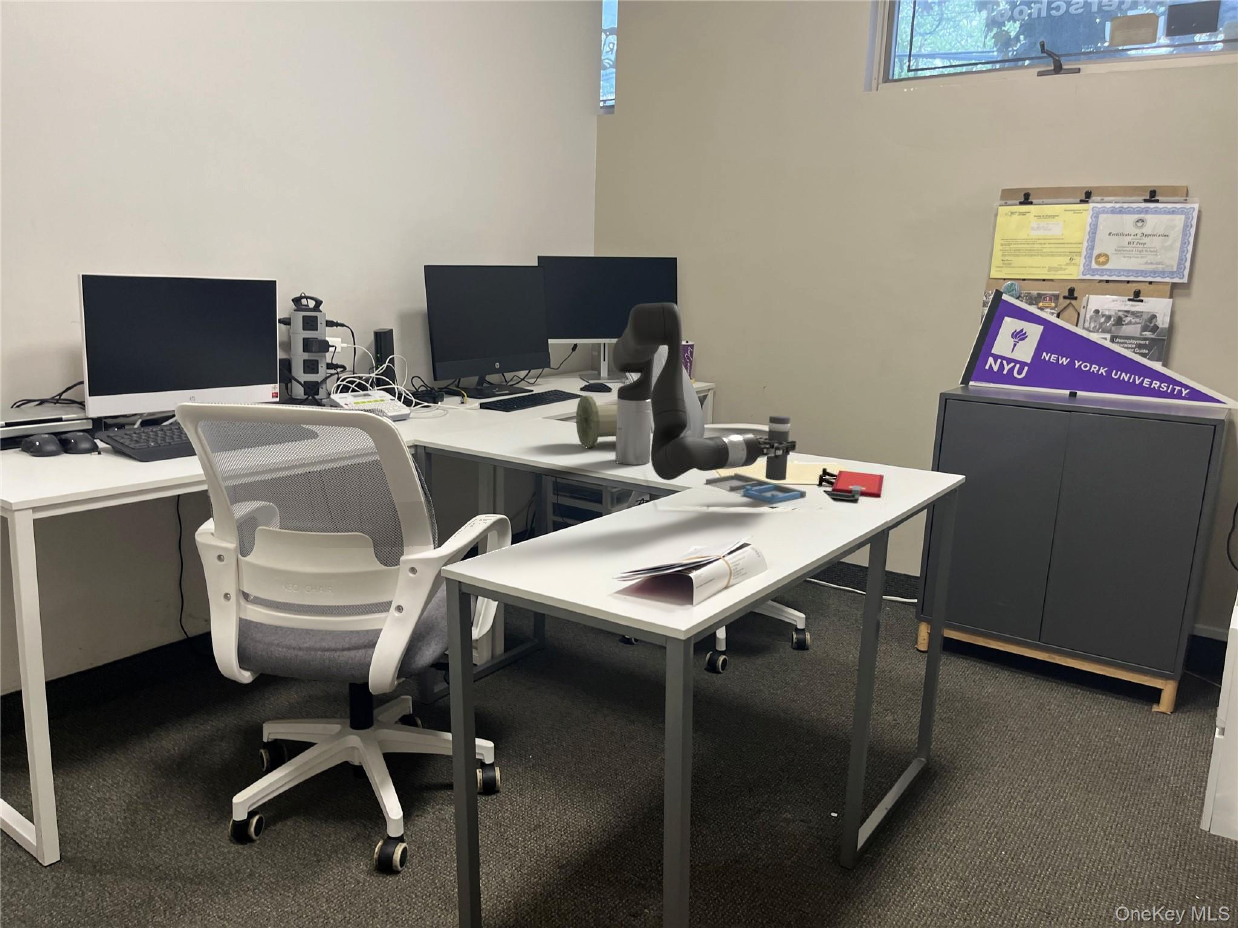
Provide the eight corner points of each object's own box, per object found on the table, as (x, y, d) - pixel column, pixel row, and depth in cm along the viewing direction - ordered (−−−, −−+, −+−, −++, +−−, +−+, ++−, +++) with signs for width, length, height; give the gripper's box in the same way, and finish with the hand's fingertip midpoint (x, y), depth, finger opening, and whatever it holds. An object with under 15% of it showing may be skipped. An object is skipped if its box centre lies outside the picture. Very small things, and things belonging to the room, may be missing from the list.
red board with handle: (812, 498, 207) (879, 506, 202) (813, 487, 206) (880, 494, 202) (824, 474, 235) (883, 480, 230) (825, 463, 234) (884, 469, 230)
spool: (593, 452, 253) (594, 400, 249) (575, 442, 266) (576, 392, 263) (646, 449, 259) (648, 398, 256) (626, 439, 272) (627, 391, 269)
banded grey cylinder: (767, 480, 200) (771, 418, 197) (763, 475, 205) (767, 415, 202) (788, 480, 200) (792, 419, 197) (783, 476, 205) (787, 416, 202)
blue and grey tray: (704, 488, 214) (704, 476, 213) (736, 482, 220) (737, 470, 220) (772, 508, 197) (773, 495, 196) (805, 501, 204) (806, 488, 203)
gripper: (758, 438, 186) (811, 431, 196) (710, 428, 197) (763, 422, 207) (755, 473, 187) (809, 465, 198) (708, 461, 198) (761, 454, 209)
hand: (785, 443), depth 202 cm, fingers closed on banded grey cylinder, 4 cm apart
